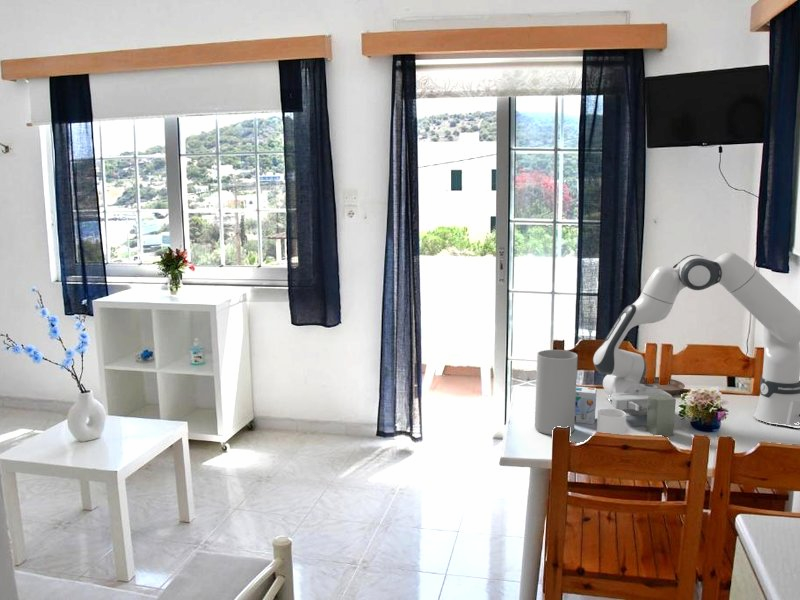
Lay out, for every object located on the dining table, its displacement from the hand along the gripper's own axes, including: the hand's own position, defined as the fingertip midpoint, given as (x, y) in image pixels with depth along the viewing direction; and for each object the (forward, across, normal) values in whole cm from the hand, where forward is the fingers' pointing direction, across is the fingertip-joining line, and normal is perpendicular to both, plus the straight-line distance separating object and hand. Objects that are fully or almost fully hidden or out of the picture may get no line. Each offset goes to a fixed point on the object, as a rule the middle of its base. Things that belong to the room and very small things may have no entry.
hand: (653, 407), depth 240 cm
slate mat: (-7, 0, +7) cm, 10 cm away
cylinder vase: (-4, -32, +7) cm, 33 cm away
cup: (+10, -20, +7) cm, 24 cm away
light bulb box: (-12, -20, +7) cm, 25 cm away
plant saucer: (-40, +26, +7) cm, 48 cm away
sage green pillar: (+5, 0, +7) cm, 9 cm away
